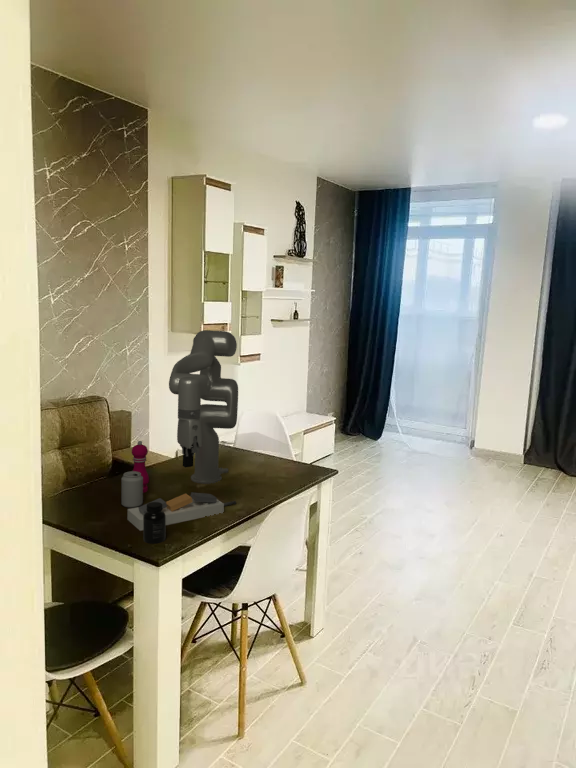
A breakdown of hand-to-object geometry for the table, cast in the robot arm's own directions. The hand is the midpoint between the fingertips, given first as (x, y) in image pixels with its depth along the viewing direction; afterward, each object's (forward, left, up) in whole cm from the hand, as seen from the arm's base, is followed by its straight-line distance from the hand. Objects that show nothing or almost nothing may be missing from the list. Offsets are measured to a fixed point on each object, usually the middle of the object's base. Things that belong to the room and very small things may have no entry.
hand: (187, 466), depth 205 cm
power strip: (+3, -2, -18) cm, 19 cm away
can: (+12, -20, -19) cm, 30 cm away
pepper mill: (+4, -33, -19) cm, 38 cm away
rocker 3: (-6, 0, -12) cm, 14 cm away
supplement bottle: (+17, +12, -19) cm, 28 cm away
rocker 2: (+3, 0, -12) cm, 13 cm away
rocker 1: (+13, 0, -12) cm, 18 cm away
